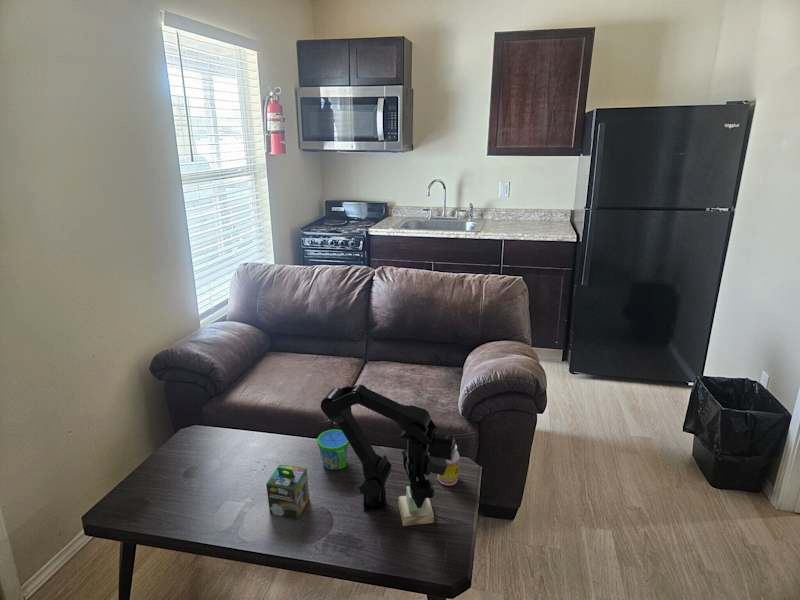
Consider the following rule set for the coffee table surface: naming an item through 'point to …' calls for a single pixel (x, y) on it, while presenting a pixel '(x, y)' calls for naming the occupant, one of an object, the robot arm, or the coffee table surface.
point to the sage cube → (411, 502)
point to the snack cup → (333, 449)
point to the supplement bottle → (451, 471)
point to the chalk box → (288, 491)
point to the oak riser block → (415, 513)
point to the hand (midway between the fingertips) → (416, 496)
